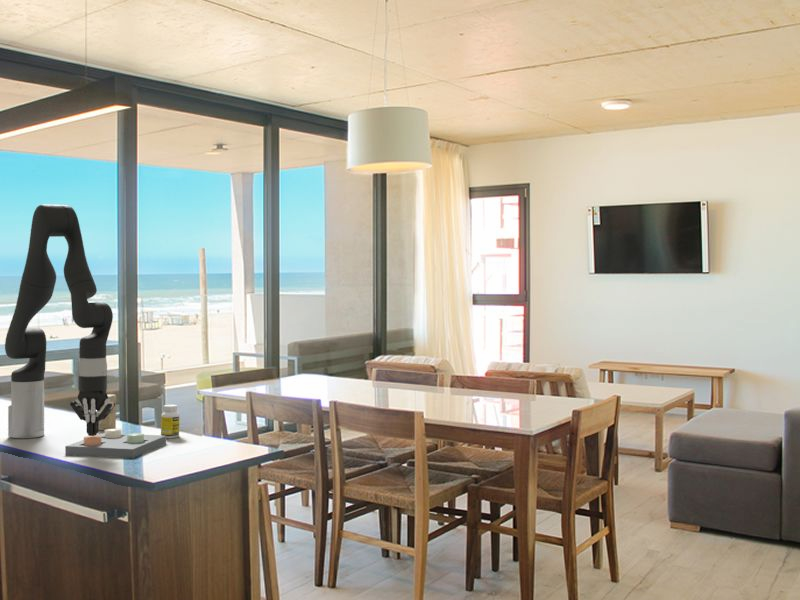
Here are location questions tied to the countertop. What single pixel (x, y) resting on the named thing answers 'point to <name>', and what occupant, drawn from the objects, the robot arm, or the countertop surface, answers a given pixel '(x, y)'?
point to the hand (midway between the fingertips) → (92, 435)
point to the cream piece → (113, 433)
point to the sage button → (135, 438)
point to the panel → (116, 447)
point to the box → (109, 416)
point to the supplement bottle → (170, 422)
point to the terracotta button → (92, 440)
